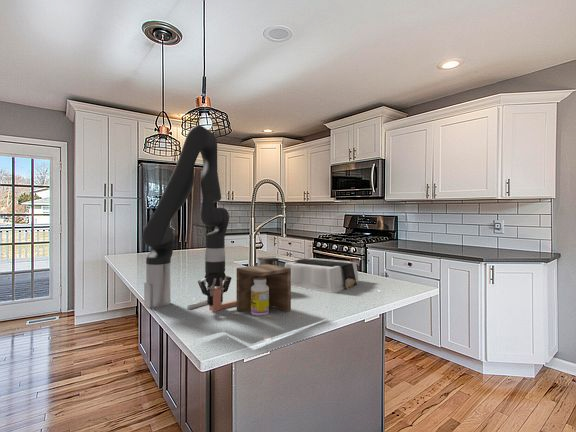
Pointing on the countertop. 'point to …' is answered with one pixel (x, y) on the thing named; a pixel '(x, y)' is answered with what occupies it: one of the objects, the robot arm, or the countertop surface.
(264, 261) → the coffee box
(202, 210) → the robot arm
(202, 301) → the grey dowel
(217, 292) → the crook
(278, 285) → the shelf
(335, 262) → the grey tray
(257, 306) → the supplement bottle
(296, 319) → the countertop surface
